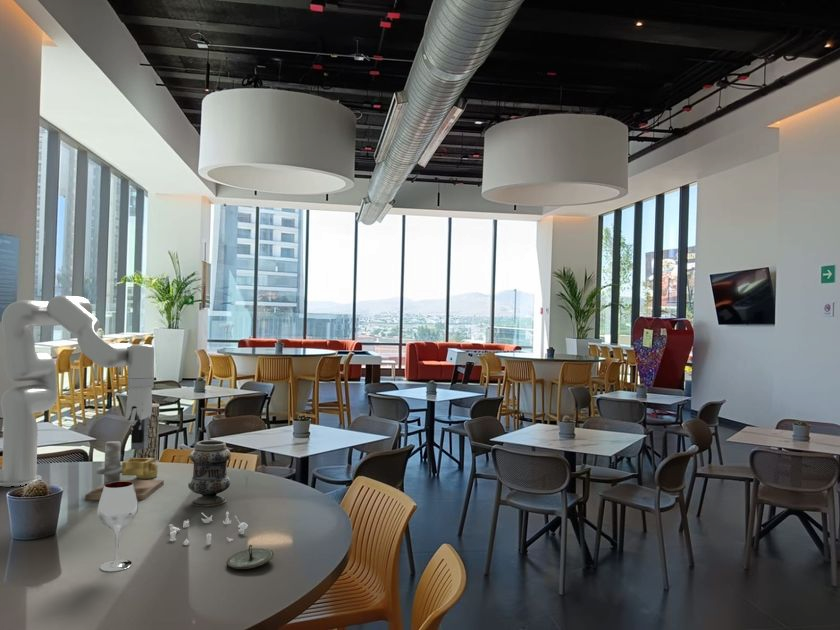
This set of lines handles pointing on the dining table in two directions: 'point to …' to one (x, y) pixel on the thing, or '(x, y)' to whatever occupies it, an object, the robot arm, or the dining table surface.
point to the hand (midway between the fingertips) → (139, 441)
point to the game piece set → (208, 536)
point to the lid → (250, 558)
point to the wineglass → (117, 516)
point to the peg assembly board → (125, 472)
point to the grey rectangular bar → (145, 436)
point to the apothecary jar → (209, 472)
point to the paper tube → (151, 441)
